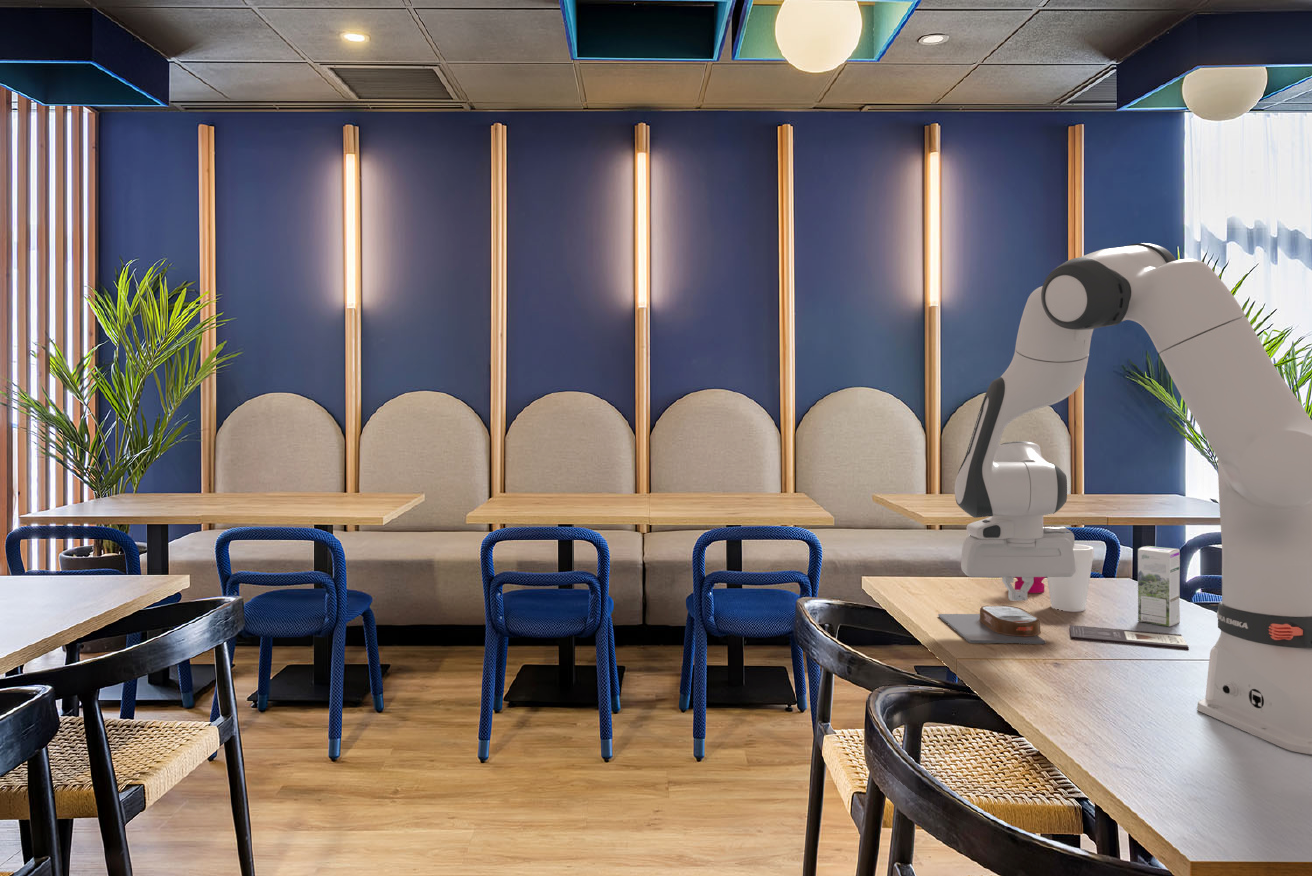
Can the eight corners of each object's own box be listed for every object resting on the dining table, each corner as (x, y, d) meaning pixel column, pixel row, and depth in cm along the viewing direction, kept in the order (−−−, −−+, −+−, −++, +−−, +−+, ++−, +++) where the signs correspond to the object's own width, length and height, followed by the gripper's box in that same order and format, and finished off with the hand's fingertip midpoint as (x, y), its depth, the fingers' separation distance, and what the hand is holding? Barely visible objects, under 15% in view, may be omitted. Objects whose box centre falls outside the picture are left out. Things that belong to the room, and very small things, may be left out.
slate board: (1045, 644, 145) (1045, 640, 145) (970, 643, 146) (970, 640, 146) (1004, 617, 165) (1004, 614, 165) (938, 616, 166) (938, 614, 166)
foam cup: (1098, 614, 167) (1098, 550, 166) (1048, 612, 169) (1048, 549, 169) (1086, 604, 176) (1086, 543, 175) (1039, 602, 178) (1039, 542, 178)
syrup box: (1180, 622, 159) (1180, 548, 159) (1169, 627, 156) (1169, 551, 155) (1148, 617, 164) (1148, 544, 163) (1136, 622, 160) (1136, 548, 160)
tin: (1015, 617, 163) (972, 619, 163) (1014, 601, 163) (971, 604, 163) (1049, 637, 148) (1001, 640, 148) (1048, 619, 148) (1000, 622, 148)
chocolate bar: (1069, 625, 156) (1181, 634, 149) (1069, 630, 156) (1181, 639, 149) (1071, 636, 148) (1188, 647, 141) (1071, 641, 148) (1188, 652, 141)
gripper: (1066, 524, 158) (1066, 596, 158) (958, 525, 159) (958, 596, 159) (1081, 529, 151) (1081, 603, 152) (968, 529, 153) (968, 603, 153)
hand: (1017, 600), depth 155 cm, fingers closed
